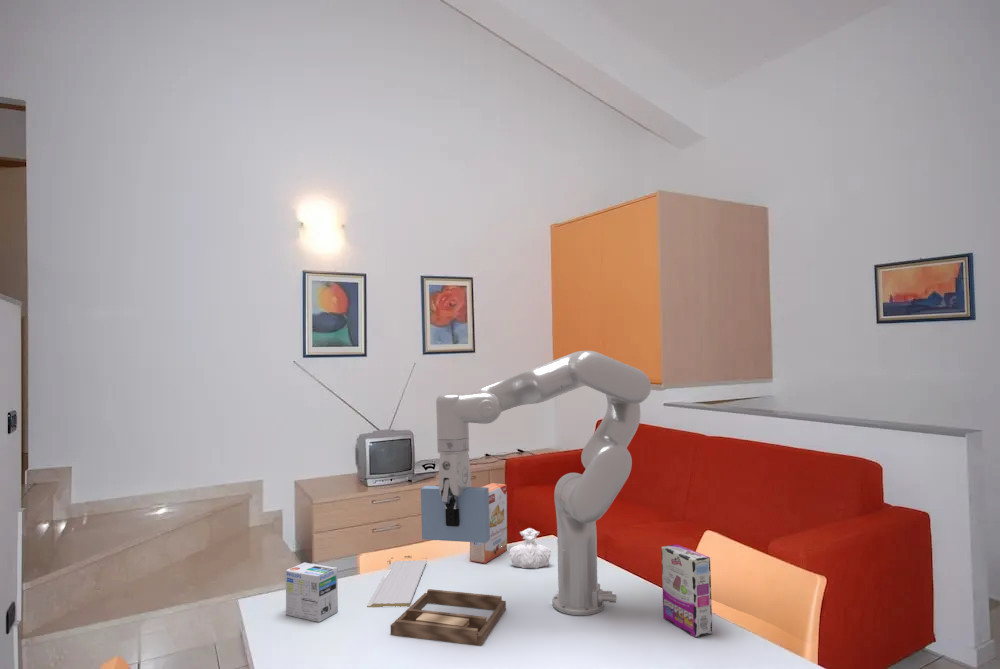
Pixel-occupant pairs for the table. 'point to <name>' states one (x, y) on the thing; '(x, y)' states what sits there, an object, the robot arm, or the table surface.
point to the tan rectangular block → (443, 620)
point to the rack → (448, 633)
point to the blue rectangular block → (470, 516)
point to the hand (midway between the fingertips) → (455, 522)
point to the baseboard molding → (398, 584)
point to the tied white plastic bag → (529, 552)
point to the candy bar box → (687, 590)
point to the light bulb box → (311, 591)
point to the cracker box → (493, 526)
